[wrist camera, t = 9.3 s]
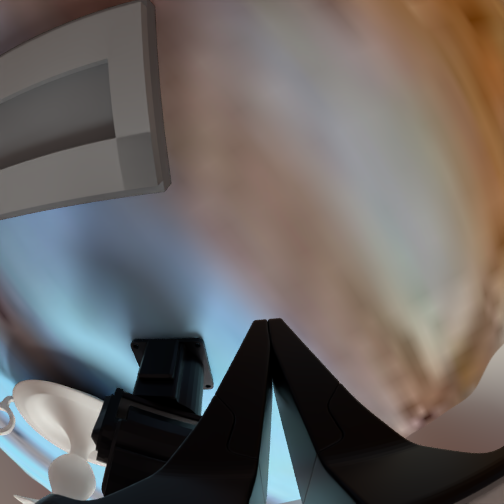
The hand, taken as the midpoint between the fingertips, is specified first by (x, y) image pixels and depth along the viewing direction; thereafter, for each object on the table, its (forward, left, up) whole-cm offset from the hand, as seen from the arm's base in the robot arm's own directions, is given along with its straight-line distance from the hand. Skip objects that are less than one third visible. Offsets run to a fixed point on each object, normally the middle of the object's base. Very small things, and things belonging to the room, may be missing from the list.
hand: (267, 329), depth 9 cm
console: (+8, +18, -12) cm, 23 cm away
